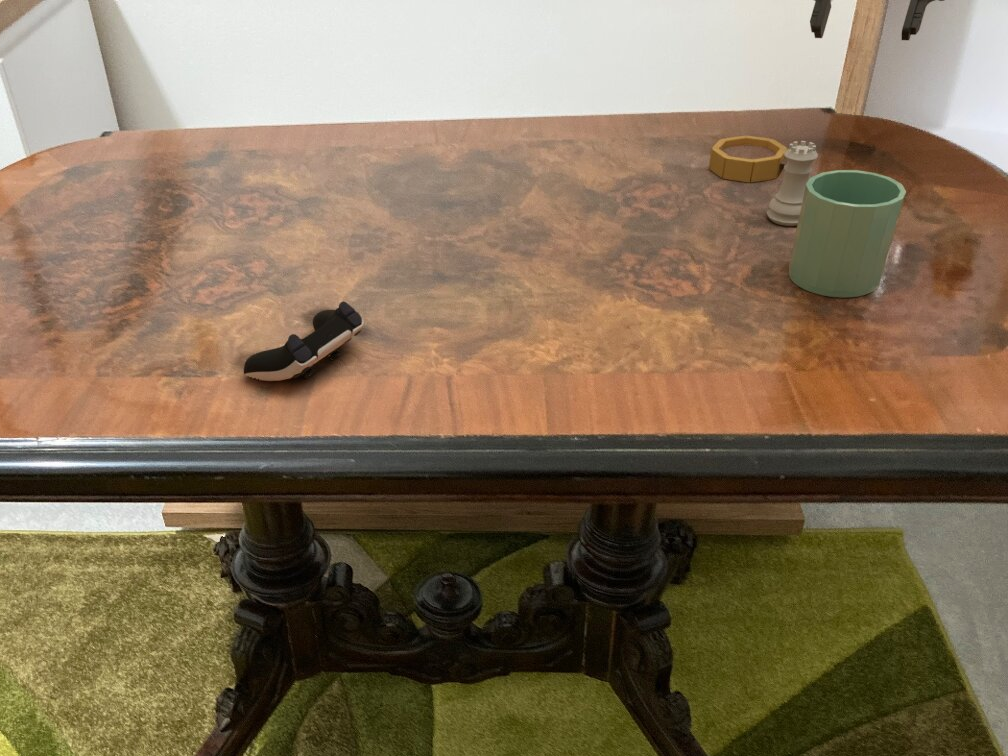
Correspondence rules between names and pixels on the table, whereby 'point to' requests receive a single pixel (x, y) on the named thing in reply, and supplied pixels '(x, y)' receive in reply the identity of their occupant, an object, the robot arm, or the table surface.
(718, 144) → the holder ring
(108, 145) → the table surface
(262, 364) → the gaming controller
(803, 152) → the rook chess piece
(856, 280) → the green cup
